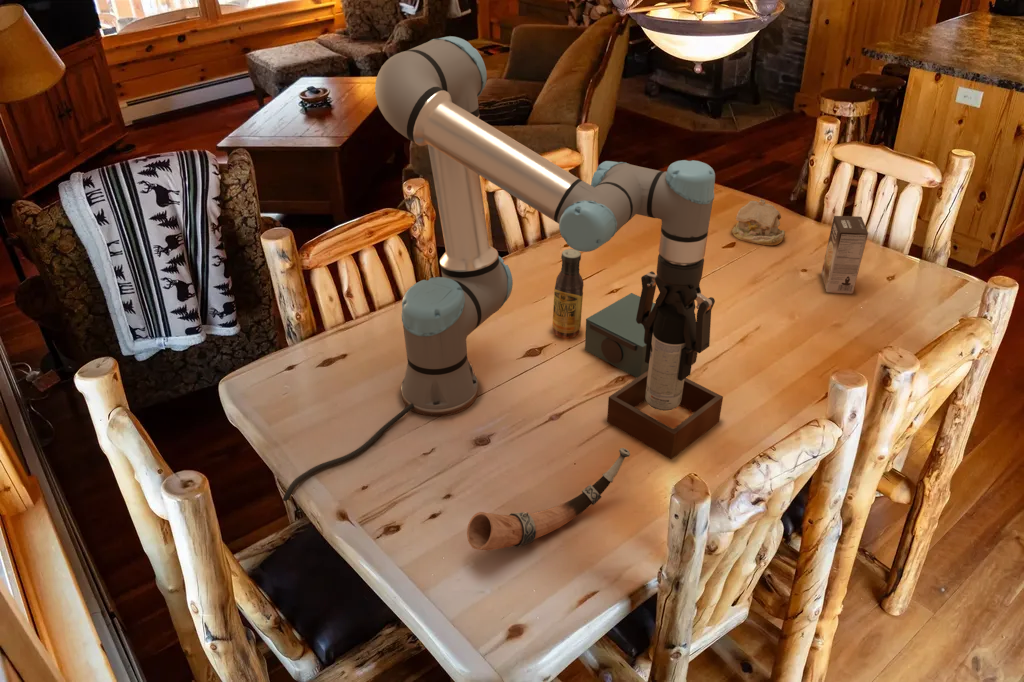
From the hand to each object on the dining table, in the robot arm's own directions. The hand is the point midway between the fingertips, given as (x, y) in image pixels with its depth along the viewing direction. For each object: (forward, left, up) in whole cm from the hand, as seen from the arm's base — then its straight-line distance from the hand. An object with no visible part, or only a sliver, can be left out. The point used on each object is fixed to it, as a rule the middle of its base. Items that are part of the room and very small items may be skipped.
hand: (667, 368), depth 145 cm
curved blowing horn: (-34, -4, -13) cm, 36 cm away
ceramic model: (+81, +30, -13) cm, 87 cm away
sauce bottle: (+10, +34, -13) cm, 37 cm away
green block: (+15, +19, -12) cm, 27 cm away
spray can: (0, 0, -8) cm, 8 cm away
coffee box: (+71, +2, -13) cm, 72 cm away
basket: (0, 0, -12) cm, 12 cm away
